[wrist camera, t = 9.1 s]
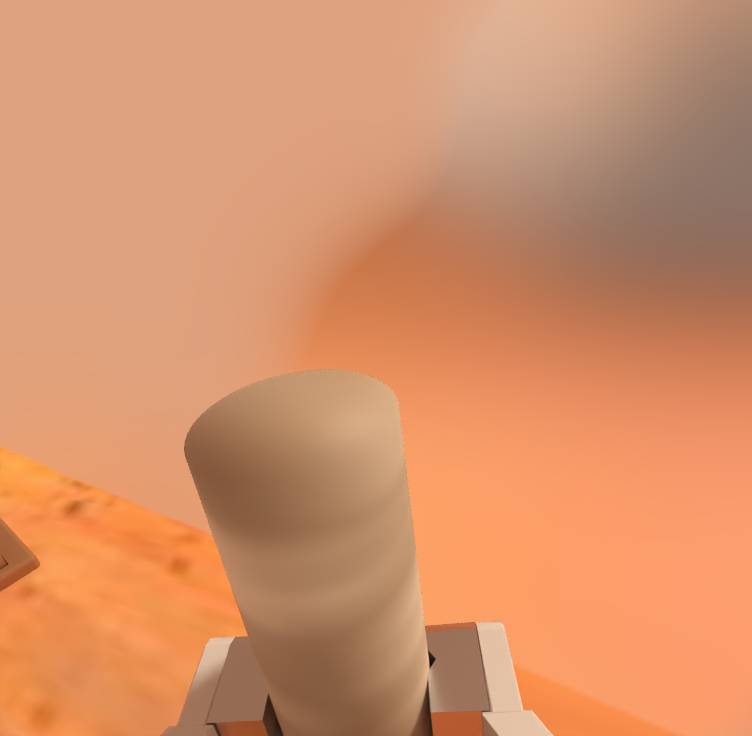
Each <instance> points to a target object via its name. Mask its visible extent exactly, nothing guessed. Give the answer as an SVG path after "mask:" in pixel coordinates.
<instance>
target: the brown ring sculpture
mask: <svg viewBox="0 0 752 736" xmlns="http://www.w3.org/2000/svg"><path fill="white" fill-rule="evenodd" d="M39 566H40V563H39V561H38V559H37V557H36V556H35V555H34V554H33V553H32V552H31V551H30V550H29V548H28V547H27V546H26V545H25V544H24V543H23V542H22V541H21V540H20V539H19V538H18V536H17V535H16V534H15V533H14V532H13V531H12V530H11V529H10V528H9V527H8V526H7V525H6V523H5V522H4V521H3V520H2V519H1V518H0V591H2V590H4V589H5V588H7V587H8V586H10V585H11V584H13V583H15V582H16V581H18V580H19V579H21V578H22V577H24V576H26V575H27V574H29V573H30V572H32V571H33V570H35V569H37V568H38V567H39Z"/></svg>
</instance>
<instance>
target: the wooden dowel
mask: <svg viewBox="0 0 752 736" xmlns="http://www.w3.org/2000/svg"><path fill="white" fill-rule="evenodd" d="M184 451H185V457H186V460H187V463H188V465H189V468H190V471H191V474H192V477H193V479H194V483H195V485H196V488H197V491H198V494H199V497H200V500H201V503H202V505H203V508H204V511H205V514H206V517H207V519H208V522H209V525H210V528H211V531H212V534H213V537H214V540H215V542H216V545H217V548H218V551H219V554H220V557H221V560H222V562H223V565H224V568H225V571H226V574H227V577H228V579H229V582H230V585H231V588H232V591H233V594H234V597H235V599H236V602H237V605H238V608H239V611H240V614H241V617H242V619H243V622H244V625H245V628H246V631H247V634H248V636H249V639H250V642H251V645H252V648H253V651H254V654H255V656H256V659H257V662H258V665H259V668H260V671H261V673H262V676H263V679H264V682H265V685H266V688H267V691H268V693H269V696H270V699H271V702H272V705H273V708H274V711H275V713H276V716H277V719H278V722H279V725H280V728H281V730H282V733H283V736H433V729H432V720H431V710H430V697H429V683H428V673H429V670H430V665H429V657H428V648H427V640H426V631H425V623H424V614H423V606H422V598H421V590H420V580H419V572H418V564H417V555H416V547H415V539H414V530H413V521H412V514H411V505H410V496H409V488H408V479H407V470H406V462H405V453H404V445H403V438H402V429H401V420H400V412H399V404H398V400H397V398H396V395H395V394H394V392H393V391H392V390H391V389H390V388H389V387H388V386H387V385H386V384H384V383H382V382H381V381H379V380H378V379H375V378H373V377H371V376H368V375H365V374H362V373H357V372H352V371H344V370H308V371H301V372H294V373H289V374H284V375H280V376H275V377H272V378H268V379H265V380H262V381H259V382H257V383H254V384H251V385H249V386H246V387H244V388H241V389H239V390H237V391H235V392H233V393H231V394H230V395H228V396H226V397H225V398H223V399H221V400H220V401H218V402H217V403H215V404H214V405H212V406H211V407H210V408H209V409H208V410H206V411H205V412H204V413H203V414H202V415H201V416H200V417H199V418H198V419H197V420H196V421H195V423H194V424H193V425H192V427H191V429H190V430H189V432H188V434H187V437H186V440H185V445H184Z"/></svg>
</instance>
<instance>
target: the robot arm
mask: <svg viewBox="0 0 752 736" xmlns="http://www.w3.org/2000/svg"><path fill="white" fill-rule="evenodd" d="M425 631H426V640H427V648H428V657H429V665H430V670H429V673H428V683H429V697H430V710H431V720H432V729H433V736H553V735H552V734H551V732H550V731H549V730H548V729H547V728H546V727H545V725H544V724H543V723H542V722H541V721H540V720H539V718H538V717H537V716H536V715H535V714H534V713H533V711H532V710H523V707H522V703H521V698H520V694H519V690H518V685H517V681H516V676H515V672H514V668H513V663H512V659H511V655H510V650H509V646H508V641H507V637H506V632H505V628H504V626H503V624H502V622H501V621H495V622H483V623H476V624H475V622H469V623H457V624H443V625H431V626H425ZM161 736H283V733H282V730H281V728H280V725H279V722H278V719H277V716H276V713H275V711H274V708H273V705H272V702H271V699H270V696H269V693H268V691H267V688H266V685H265V682H264V679H263V676H262V673H261V671H260V668H259V665H258V662H257V659H256V656H255V654H254V651H253V648H252V645H251V642H250V639H249V636H247V637H222V638H211V639H210V640H209V641H208V643H207V644H206V646H205V647H204V650H203V653H202V656H201V659H200V661H199V664H198V667H197V670H196V673H195V676H194V678H193V681H192V684H191V687H190V690H189V692H188V695H187V698H186V701H185V704H184V707H183V709H182V712H181V715H180V718H179V721H178V723H177V726H169V727H168V728H167V729H166V730H165V732H164V733H163V734H162V735H161Z"/></svg>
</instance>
